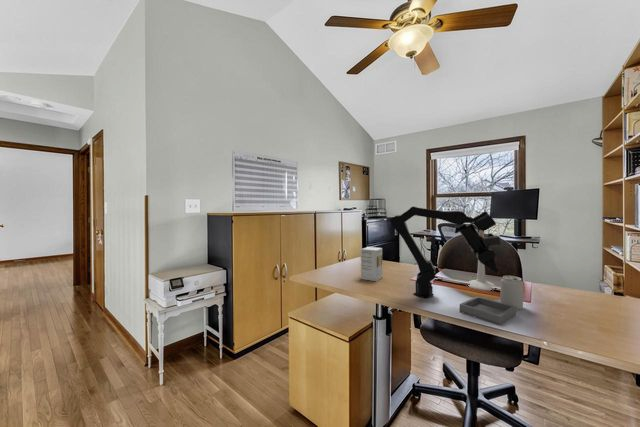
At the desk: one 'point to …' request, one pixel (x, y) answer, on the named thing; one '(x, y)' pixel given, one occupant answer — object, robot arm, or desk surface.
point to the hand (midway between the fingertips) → (494, 269)
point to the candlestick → (481, 276)
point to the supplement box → (371, 263)
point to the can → (512, 291)
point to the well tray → (488, 310)
